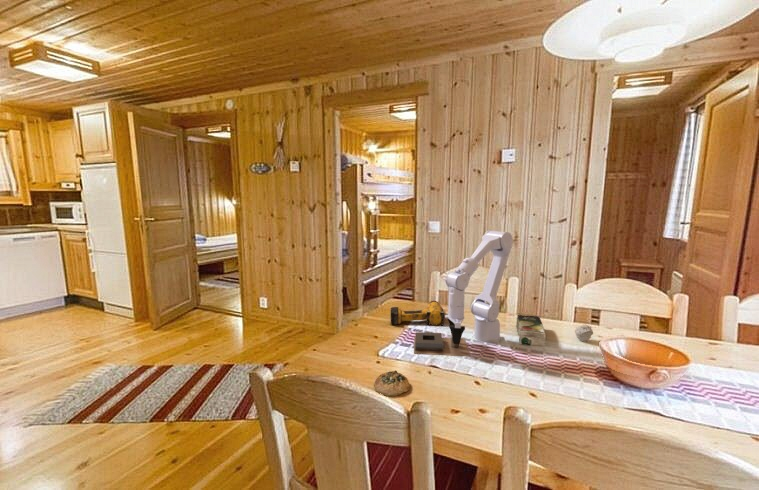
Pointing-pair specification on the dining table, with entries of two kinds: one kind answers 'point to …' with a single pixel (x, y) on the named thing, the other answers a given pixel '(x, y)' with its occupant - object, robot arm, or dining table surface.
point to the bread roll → (391, 384)
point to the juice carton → (530, 330)
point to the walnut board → (448, 349)
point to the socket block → (428, 341)
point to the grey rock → (583, 332)
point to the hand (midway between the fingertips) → (455, 339)
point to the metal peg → (454, 344)
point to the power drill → (420, 314)
